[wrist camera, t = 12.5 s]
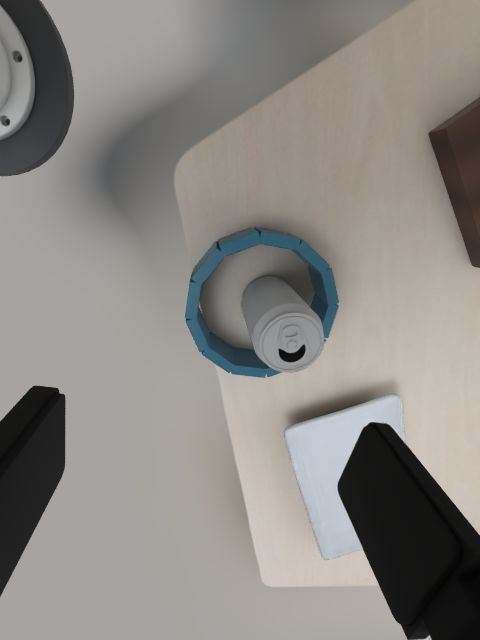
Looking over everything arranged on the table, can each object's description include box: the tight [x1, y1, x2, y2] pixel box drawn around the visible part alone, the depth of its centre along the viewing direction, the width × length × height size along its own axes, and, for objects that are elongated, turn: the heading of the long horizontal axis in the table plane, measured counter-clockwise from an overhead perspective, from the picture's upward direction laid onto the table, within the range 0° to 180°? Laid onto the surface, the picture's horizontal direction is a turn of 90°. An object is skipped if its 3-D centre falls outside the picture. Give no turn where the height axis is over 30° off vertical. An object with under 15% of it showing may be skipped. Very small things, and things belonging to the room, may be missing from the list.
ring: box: [185, 227, 339, 378], centre depth 34 cm, size 17×17×4 cm
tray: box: [284, 394, 405, 560], centre depth 47 cm, size 17×31×4 cm, turn 17°
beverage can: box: [241, 276, 324, 373], centre depth 30 cm, size 6×6×12 cm
